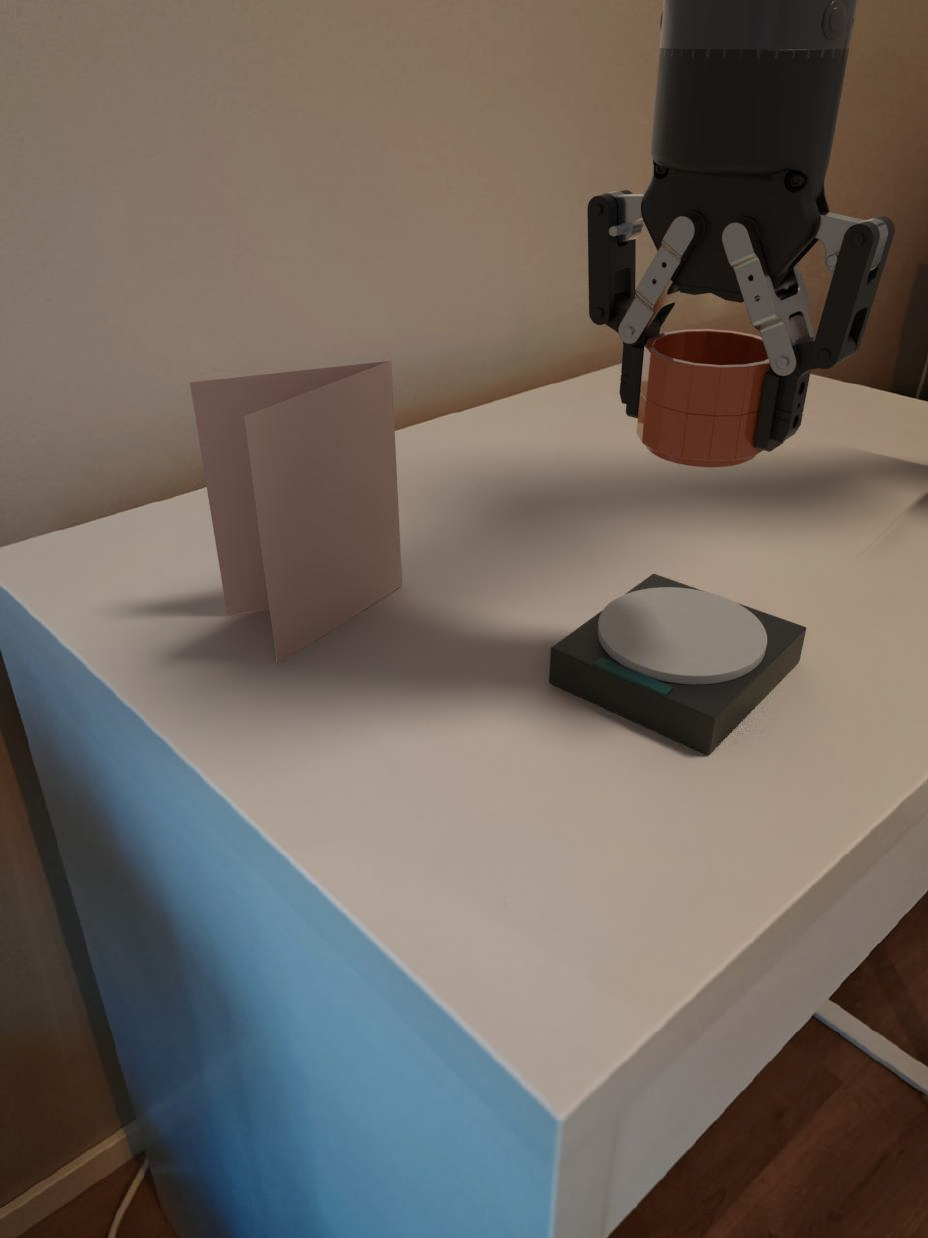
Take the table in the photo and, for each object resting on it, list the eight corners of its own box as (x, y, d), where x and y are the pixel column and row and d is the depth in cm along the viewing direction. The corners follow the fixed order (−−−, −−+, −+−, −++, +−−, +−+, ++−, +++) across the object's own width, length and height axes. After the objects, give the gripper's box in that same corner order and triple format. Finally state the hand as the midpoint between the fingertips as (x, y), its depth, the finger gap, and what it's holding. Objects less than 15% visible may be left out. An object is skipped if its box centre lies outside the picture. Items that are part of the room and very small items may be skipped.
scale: (649, 605, 61) (654, 564, 60) (800, 661, 56) (809, 617, 54) (548, 683, 54) (550, 638, 53) (708, 756, 49) (716, 708, 47)
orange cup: (676, 415, 52) (687, 322, 50) (788, 443, 49) (806, 344, 46) (612, 449, 48) (619, 349, 46) (729, 482, 45) (745, 376, 42)
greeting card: (398, 579, 65) (387, 356, 57) (431, 635, 59) (423, 395, 51) (225, 608, 61) (188, 377, 54) (241, 671, 56) (201, 421, 48)
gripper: (967, 37, 38) (874, 442, 47) (648, 37, 46) (620, 382, 54) (899, 40, 33) (810, 491, 42) (556, 39, 41) (541, 417, 50)
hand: (702, 428), depth 48 cm, fingers closed on orange cup, 6 cm apart
